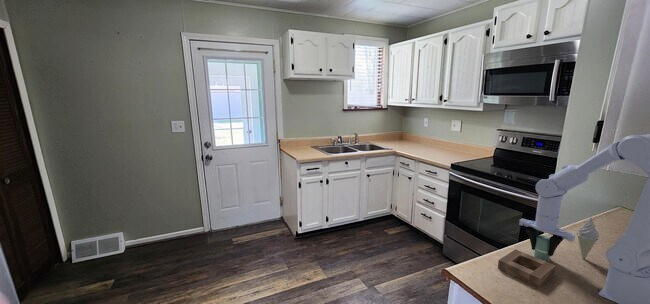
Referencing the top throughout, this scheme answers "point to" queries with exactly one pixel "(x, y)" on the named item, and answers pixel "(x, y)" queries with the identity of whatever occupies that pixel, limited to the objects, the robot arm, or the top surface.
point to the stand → (536, 277)
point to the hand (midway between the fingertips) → (542, 252)
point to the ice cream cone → (587, 237)
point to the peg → (542, 247)
